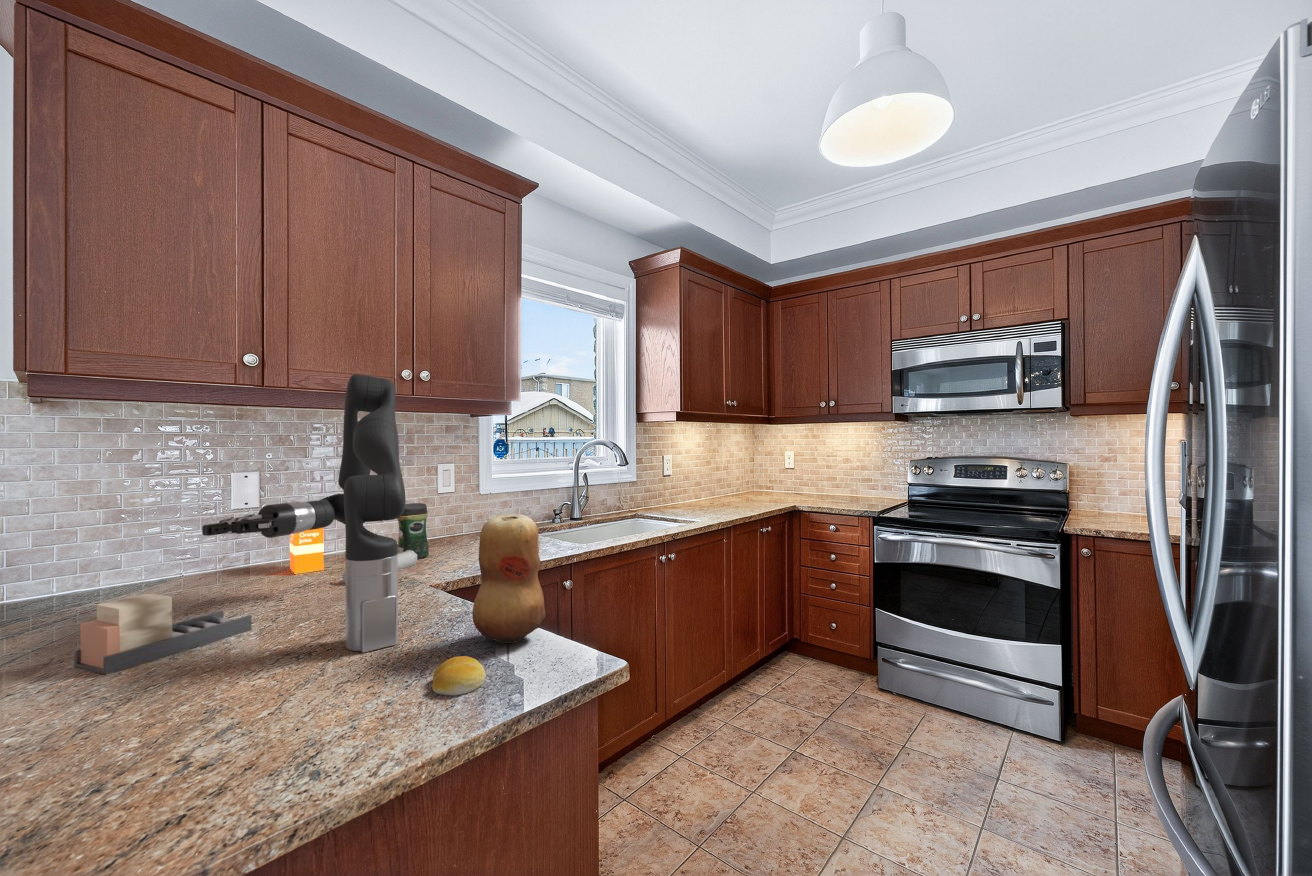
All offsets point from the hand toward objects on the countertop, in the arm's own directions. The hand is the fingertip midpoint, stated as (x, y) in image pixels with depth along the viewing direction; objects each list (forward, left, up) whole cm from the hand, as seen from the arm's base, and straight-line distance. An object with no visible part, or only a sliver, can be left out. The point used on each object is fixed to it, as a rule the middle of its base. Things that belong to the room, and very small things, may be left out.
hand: (204, 530), depth 114 cm
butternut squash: (-46, -44, -22) cm, 67 cm away
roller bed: (-2, +5, -22) cm, 23 cm away
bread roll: (-58, -28, -22) cm, 68 cm away
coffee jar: (+47, -59, -22) cm, 78 cm away
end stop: (-7, +15, -21) cm, 27 cm away
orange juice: (+52, -29, -22) cm, 63 cm away
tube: (+30, -43, -22) cm, 57 cm away
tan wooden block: (-5, +10, -19) cm, 22 cm away
